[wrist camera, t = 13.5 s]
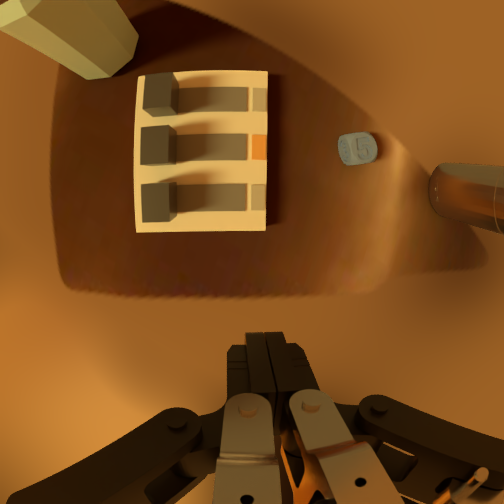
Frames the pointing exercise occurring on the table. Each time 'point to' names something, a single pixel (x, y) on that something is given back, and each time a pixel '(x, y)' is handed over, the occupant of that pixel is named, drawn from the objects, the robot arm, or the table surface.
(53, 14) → the water bottle
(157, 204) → the block
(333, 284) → the table surface
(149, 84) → the block
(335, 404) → the robot arm
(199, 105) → the breaker panel
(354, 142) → the decorative dice
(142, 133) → the block
